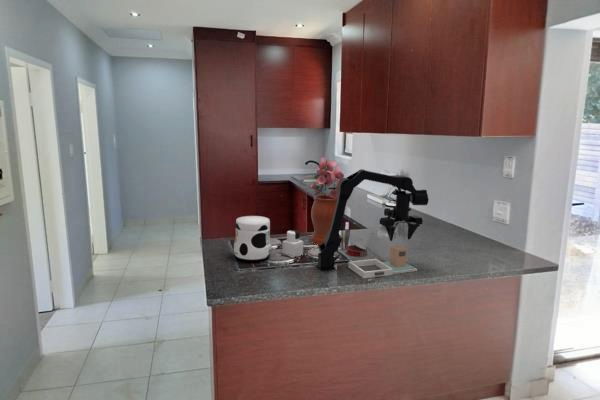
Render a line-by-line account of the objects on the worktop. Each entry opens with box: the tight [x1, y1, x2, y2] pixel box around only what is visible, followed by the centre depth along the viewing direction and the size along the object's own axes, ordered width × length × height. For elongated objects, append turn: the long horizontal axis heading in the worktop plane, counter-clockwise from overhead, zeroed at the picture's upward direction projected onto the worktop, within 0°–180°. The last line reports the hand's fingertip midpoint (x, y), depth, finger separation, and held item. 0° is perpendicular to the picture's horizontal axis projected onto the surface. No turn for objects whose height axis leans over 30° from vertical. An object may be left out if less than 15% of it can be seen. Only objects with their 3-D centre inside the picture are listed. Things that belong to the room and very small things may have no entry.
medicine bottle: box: [282, 229, 304, 257], centre depth 192 cm, size 7×7×12 cm
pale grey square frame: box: [347, 258, 394, 279], centre depth 174 cm, size 14×15×2 cm
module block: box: [389, 245, 408, 267], centre depth 179 cm, size 5×5×8 cm
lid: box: [381, 260, 418, 275], centre depth 180 cm, size 13×12×1 cm
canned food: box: [345, 235, 368, 258], centre depth 198 cm, size 11×10×10 cm
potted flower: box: [309, 156, 345, 246], centre depth 213 cm, size 19×25×45 cm
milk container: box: [233, 215, 272, 262], centre depth 186 cm, size 17×17×18 cm
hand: (399, 240), depth 178 cm, fingers open, 9 cm apart
